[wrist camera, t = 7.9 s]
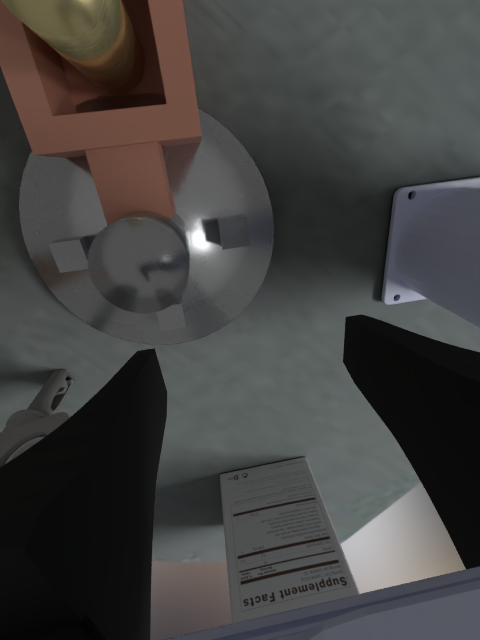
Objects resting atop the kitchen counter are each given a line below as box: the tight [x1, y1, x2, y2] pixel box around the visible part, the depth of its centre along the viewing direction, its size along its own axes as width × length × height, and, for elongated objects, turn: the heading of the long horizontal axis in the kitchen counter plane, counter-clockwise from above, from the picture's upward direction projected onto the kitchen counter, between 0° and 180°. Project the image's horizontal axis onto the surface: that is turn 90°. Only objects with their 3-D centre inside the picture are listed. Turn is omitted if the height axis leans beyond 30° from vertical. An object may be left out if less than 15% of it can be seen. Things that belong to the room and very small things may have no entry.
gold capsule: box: [1, 0, 145, 95], centre depth 10 cm, size 3×3×7 cm
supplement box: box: [220, 457, 360, 623], centre depth 25 cm, size 9×9×15 cm
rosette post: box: [19, 91, 274, 345], centre depth 15 cm, size 14×14×7 cm
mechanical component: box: [0, 369, 74, 467], centre depth 17 cm, size 3×10×10 cm, turn 108°
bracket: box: [0, 0, 202, 226], centre depth 13 cm, size 7×10×4 cm
